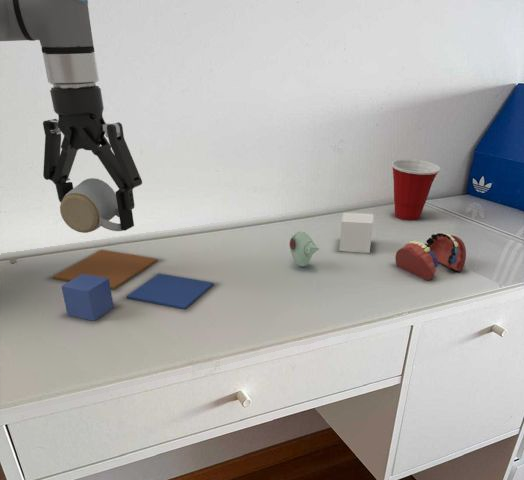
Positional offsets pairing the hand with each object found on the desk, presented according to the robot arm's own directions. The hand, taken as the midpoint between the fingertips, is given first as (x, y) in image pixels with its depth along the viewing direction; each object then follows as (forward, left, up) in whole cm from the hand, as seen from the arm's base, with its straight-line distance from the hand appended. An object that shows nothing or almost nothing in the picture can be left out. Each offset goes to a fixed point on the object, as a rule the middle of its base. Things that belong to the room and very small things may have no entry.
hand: (99, 224), depth 91 cm
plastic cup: (+47, +52, -9) cm, 71 cm away
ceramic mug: (0, 0, -1) cm, 1 cm away
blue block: (+8, -15, -8) cm, 19 cm away
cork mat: (0, 0, -8) cm, 8 cm away
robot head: (+33, +14, -9) cm, 37 cm away
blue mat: (+16, -4, -8) cm, 18 cm away
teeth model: (+55, +22, -9) cm, 60 cm away
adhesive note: (+40, +28, -9) cm, 49 cm away
